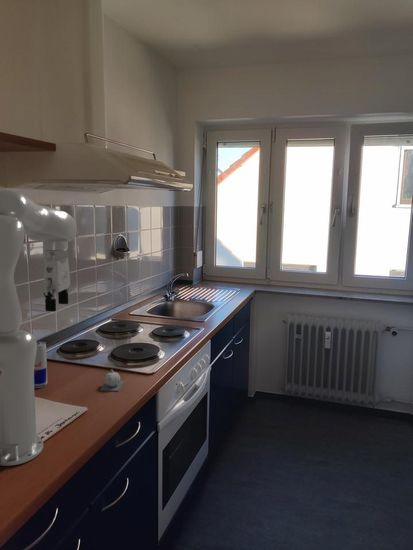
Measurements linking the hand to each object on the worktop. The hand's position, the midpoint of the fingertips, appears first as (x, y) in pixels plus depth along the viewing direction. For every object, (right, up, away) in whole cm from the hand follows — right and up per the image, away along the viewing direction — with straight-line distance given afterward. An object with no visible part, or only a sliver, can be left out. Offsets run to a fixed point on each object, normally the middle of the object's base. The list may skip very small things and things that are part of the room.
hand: (57, 307), depth 139 cm
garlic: (+16, -28, +8) cm, 33 cm away
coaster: (+16, -28, +9) cm, 33 cm away
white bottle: (-9, -27, +7) cm, 30 cm away
